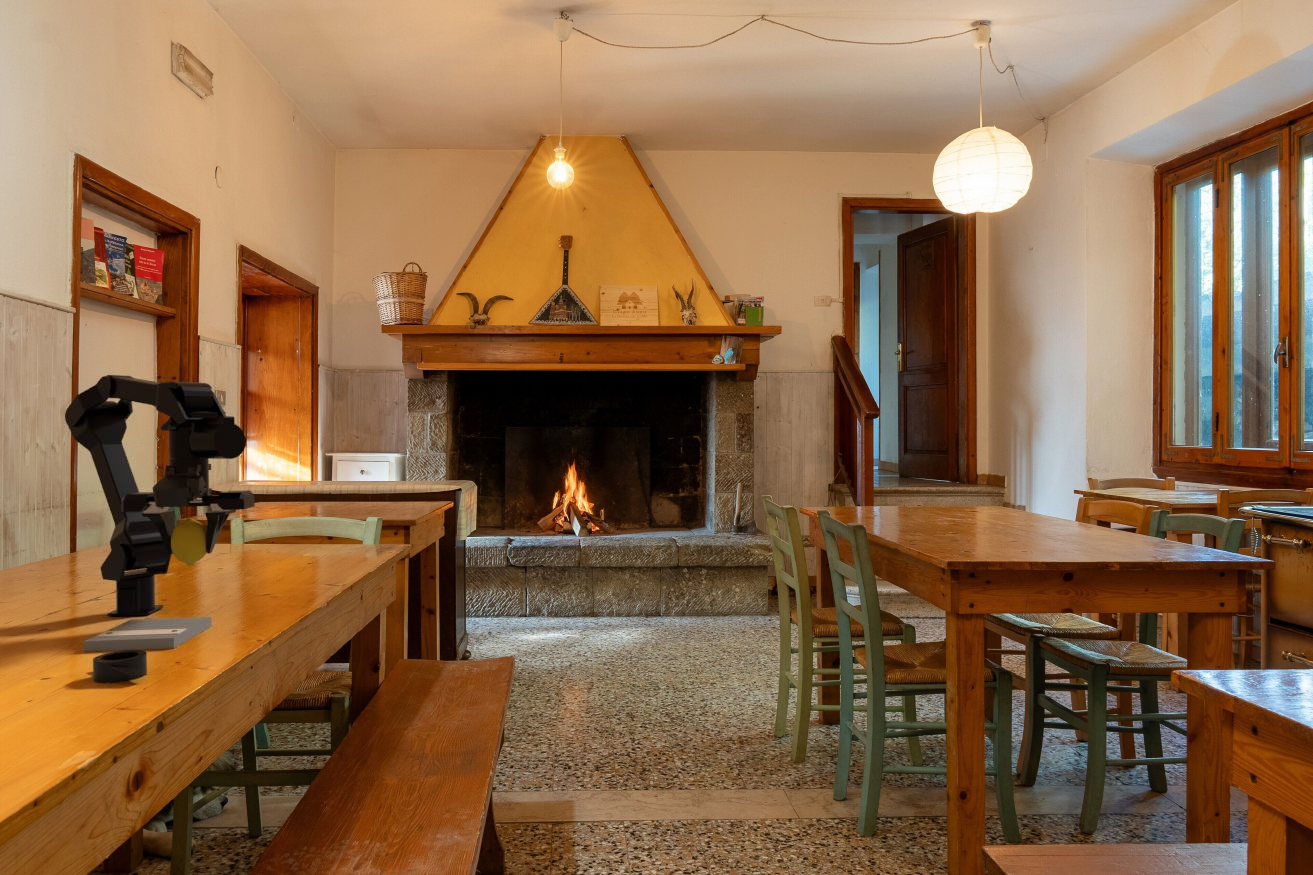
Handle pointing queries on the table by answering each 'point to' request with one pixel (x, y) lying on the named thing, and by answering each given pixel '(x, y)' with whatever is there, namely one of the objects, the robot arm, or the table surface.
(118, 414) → the robot arm
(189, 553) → the lemon
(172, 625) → the grey flat block
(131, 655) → the black piece
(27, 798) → the table surface
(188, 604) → the table surface
